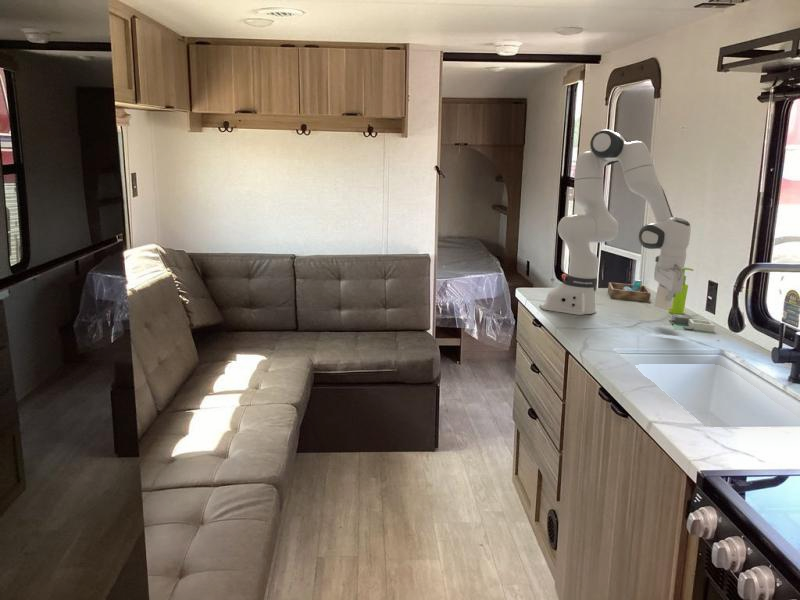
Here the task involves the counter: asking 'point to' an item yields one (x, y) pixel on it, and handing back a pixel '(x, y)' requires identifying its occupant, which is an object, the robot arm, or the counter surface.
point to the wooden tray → (628, 292)
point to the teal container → (635, 286)
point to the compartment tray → (696, 326)
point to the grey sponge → (679, 319)
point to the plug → (663, 298)
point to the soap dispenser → (680, 297)
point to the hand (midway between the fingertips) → (664, 298)
